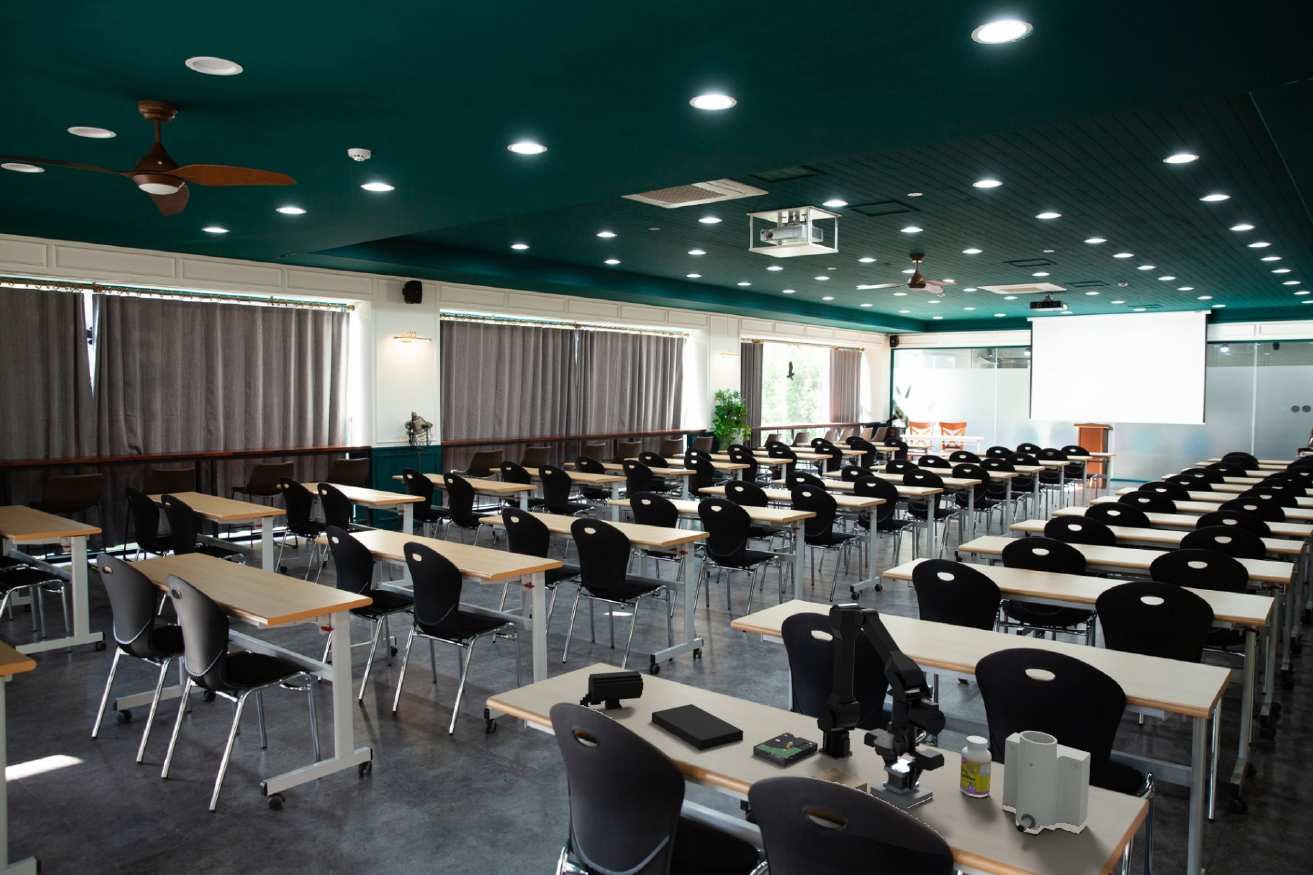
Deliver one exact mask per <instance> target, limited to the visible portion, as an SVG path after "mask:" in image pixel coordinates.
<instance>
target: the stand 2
mask: <svg viewBox="0 0 1313 875" xmlns="http://www.w3.org/2000/svg"><path fill="white" fill-rule="evenodd" d="M886 781H888V779H885V780H883V781H880V782H878V783H876V784H874V785H870V788H869V789H870V790H869V791H870V792H869V793H870V794H872V795H875V796H877V797H879V798H881V799H883V800H885V801H887V802H889V803H892V804H893V805H896V806H898V807H900V808H902V809H904V810H908V809H909V808H908V807H910V806H912V805H914V804H916V803H918V802H921V801H923V800H926V799H928V798H929V797H932V796H933V793H934V792H933V791H932V790H930V789H927V788H925V787H923V786H921V785H919V788H916V789H914V790H912V791H909V792H907V793H905V794H902V795H900V794H898V793H895V792H893V791H891V790H889V789H887V788H885V787H883V782H886ZM932 798H933V797H932Z"/></svg>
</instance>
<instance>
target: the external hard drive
mask: <svg viewBox="0 0 1313 875" xmlns="http://www.w3.org/2000/svg"><path fill="white" fill-rule="evenodd" d="M651 722H652V723H653V724H654V725H656V726H658V727H660V728H661V729H663V730H664V731H666V732H669V733H670V734H672V735H673V736H675V737H677V738H679V739H680V740H682V741H684V742H685V743H687V744H689V745H691V746H692V747H694V748H695V749H697V750H699V751H704V750H705V751H706V750H710V749H713V748H716V747H720V746H725V745H729V744H732V743H736V742H740V741H743V740H744V730H742V729H740V728H739V727H736V726H735V725H733V724H731V723H729V722H727V721H725V720H723V719H721V718H719V717H717V716H716V715H713V714H712V713H710V712H708V711H706V710H704V709H703V708H700V707H698V706H696V705H695V704H692V703H690V704H686V705H682V706H676V707H672V708H667V709H661V710H658V711H654V712H652V713H651Z"/></svg>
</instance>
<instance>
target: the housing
mask: <svg viewBox="0 0 1313 875" xmlns="http://www.w3.org/2000/svg"><path fill="white" fill-rule="evenodd" d="M909 762H910V761H909V760H907V759H904V758H900V759H898V760H897V761H895V762H893V763H890V764H887V765H885V764H884V765H883V771H885V772H887V775H888V777H887V778H888V779H887V780H888V781H886V780H885V781H886V782H883V781H882V782H883V787H885V788H887V789H889V790H891V791H893V792H895V793H898V794H900V795H902V794H905V793H907V792H909V791H912V790H914V789H916V788H919V786H920V782H918V781H917V783H916V784H915V786H914V788H913V789H912V790H910V789H909V767H908V766H907V763H909ZM888 772H889V773H888Z"/></svg>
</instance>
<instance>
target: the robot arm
mask: <svg viewBox="0 0 1313 875" xmlns="http://www.w3.org/2000/svg"><path fill="white" fill-rule="evenodd" d="M828 611H829V612H828V618H829V619H828V620H829V629H830V630H831V632H832V633H833V636H834V639H835V640H834V657H833V658H834V661H833V678H832V679H833V680H832V681H833V683H832V692H831V694H830V696H829V697H828V698H827V700H826V703H825V707H824V712H823V713H822V715H820V716H819V718H817V720H816V724H817V728H818V730H820V731H822V747H820V748H818V750H817V752H820V753H822V754H824V755H826V756H828V757H831V758H833V759H835V760H839V759H841V758H845V757H848V756H851V755H853V753H854V752H853V751H852V750H851V738H850V732H851V731H855V730H856V727H857V724H858V723H859V719H861V715H860V714H861V713H860V711H861V703H860V702H859V701H857V700H856V697H855V696H854V694H853V692H854V691H853V687H854V672H855V671H854V670H855V669H854V667H855V666H854V665H855V646H856V645H855V644H856V643H855V642H856V638H857V636H858V635H859V634H860V633H861V630H862V631H863V632H864V634H865V635H866V637H867V638H868V640H869V642H870V643H871V645H872V647H873V648H874V650H875V651H876V653H877V654H878V655H879V657H880V659H881V661H882V662H883V665H884V676H885V678H886V680H887V681H888V682H887V683H888V684H889V686H890V687H891V688H889V690H887V691H886V695H888V696H890V697H892V703H891V704H892V708H891V721H889V722H887V725H886V730H884V729H881V728H876V729H872V730H869V731H866V732H865V733H864V735H863V744H864V745H865V746H868V747H871V748H872V749H873V748H874V751H875V754H876V756H880V757H881V758H882V760H883V762H884V766H885V765H887V764H890V763H893V762H895V761H898V760H899V758H902V757H903V756H904V755H907V756H909V757H912V761H909V763H907V766H908V767H909V789H910V790H912V789H913V788H914V786H915V784H916V783H917V782H918V781H919V779H920V776H921V775H922V773H923V772H924V771H927V772H931V771H934V770H937V769H939V768H942V767H944V766H945V756H944V754H943V753H942V752H939V751H936V750H934V749H932V748H926V749H924V750H919V749H917V747H919V746H920V741H919V740H917V733H918V732H917V730H919V729H920V730H922V731H923V732H925V733H927V734H929V735H932V736H937V735H939V734H940V733H942V731H943V730H944V728H945V726H946V722H947V721H946V720H947V719H946V717H945V713H944V712H943V711H942V710H940V705H939V703H937V702H934V701H931V699H933V694H932V692H931V689H930V686H929V685H928V683H927V680H926V677H925V674H924V671H923V670H922V668H921V667H920V666H919V665H918V664H917V663H916V662H915V660H914V659H913V658H911V657H909V656H908V655H906V654H904V652H903V651H902V650H901V648H900V647H899V646H898V645H897V643H896V641H895V639H894V638H893V636H892V635H891V633H890V632H889V630H888V629H887V627H886V625H885V624H884V623H883V621H882V620H881V619H880V613H879V612H878V610H877V609H874V608H869V607H862V606H860V605H859V604H858V603H856V602H851V603H850V602H849V603H839V604H833V605H832V606H831V607H830V608H829V610H828ZM917 690H919V691H917ZM910 691H911V692H910ZM913 691H914V692H913ZM888 773H889V772H887V774H888Z"/></svg>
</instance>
